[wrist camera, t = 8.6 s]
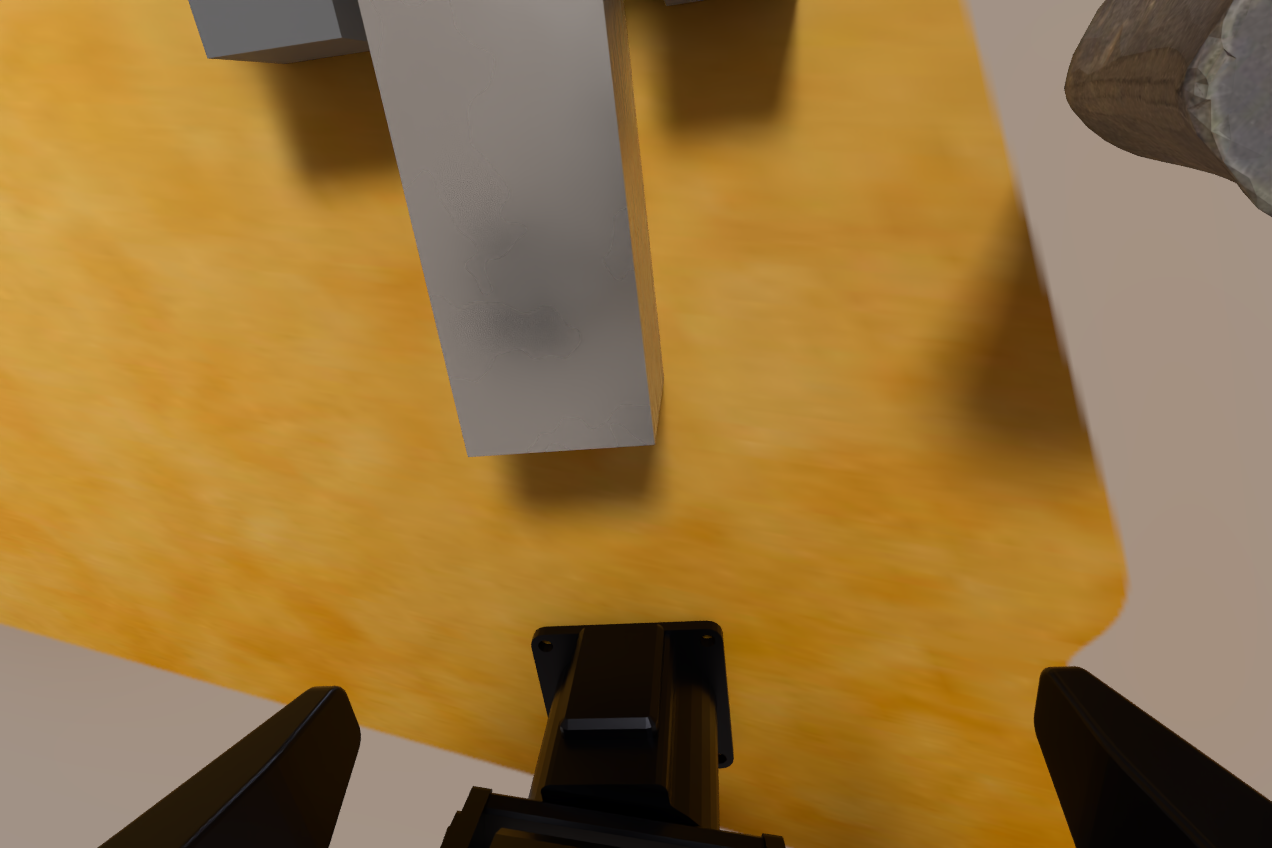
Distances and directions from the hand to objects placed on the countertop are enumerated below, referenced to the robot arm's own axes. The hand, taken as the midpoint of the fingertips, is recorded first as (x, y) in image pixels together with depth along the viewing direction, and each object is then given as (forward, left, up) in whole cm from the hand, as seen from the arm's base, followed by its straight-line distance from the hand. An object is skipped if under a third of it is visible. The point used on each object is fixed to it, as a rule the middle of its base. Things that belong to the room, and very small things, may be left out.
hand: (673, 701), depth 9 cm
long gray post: (+6, +3, -12) cm, 14 cm away
